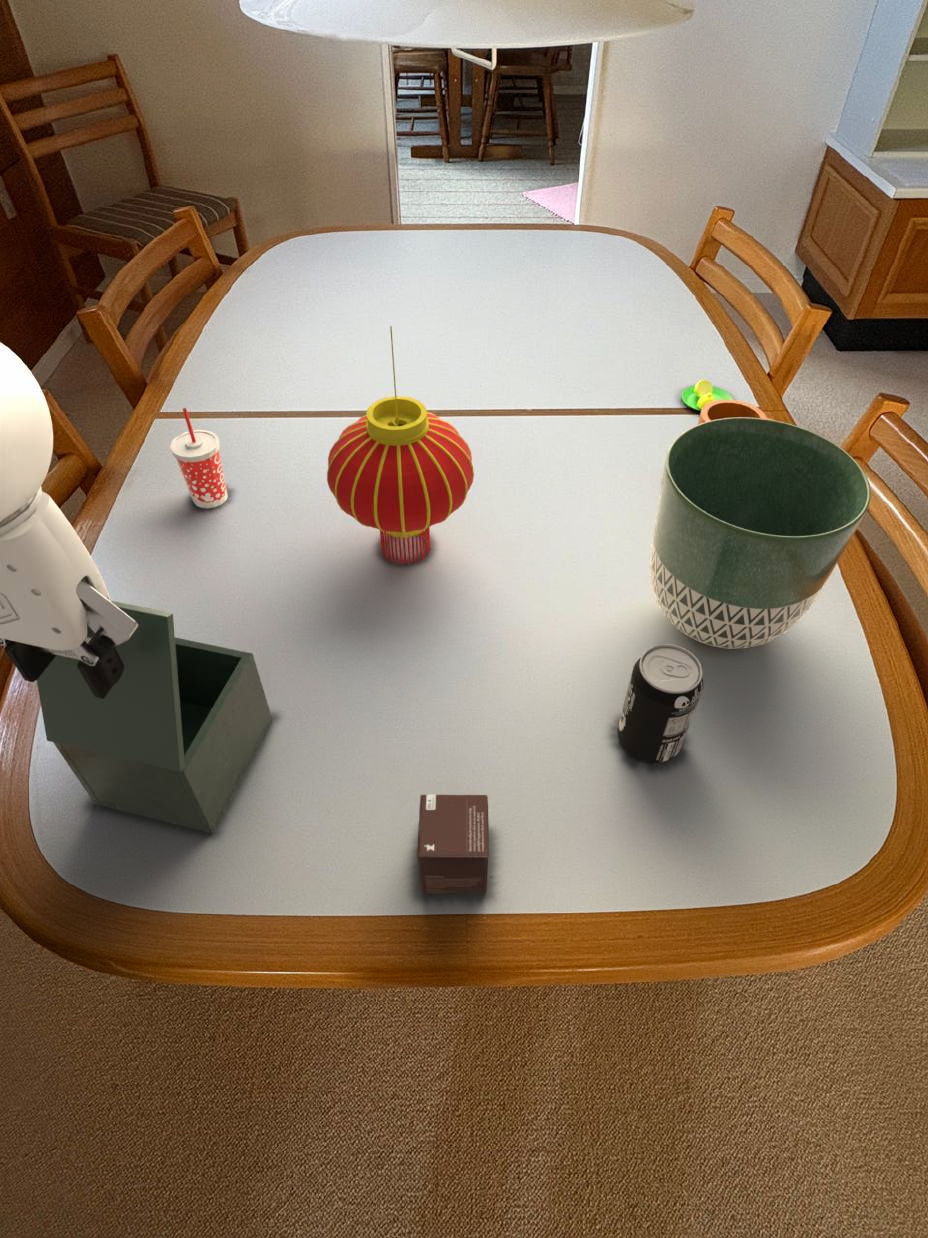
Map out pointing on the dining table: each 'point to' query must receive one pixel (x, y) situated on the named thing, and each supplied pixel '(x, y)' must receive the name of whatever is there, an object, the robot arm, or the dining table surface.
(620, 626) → the dining table surface
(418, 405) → the lantern
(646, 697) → the beverage can
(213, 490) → the beverage cup
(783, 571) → the planter
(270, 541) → the dining table surface
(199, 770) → the green open box
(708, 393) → the green dish
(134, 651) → the bin lid
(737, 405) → the mug
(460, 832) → the box
